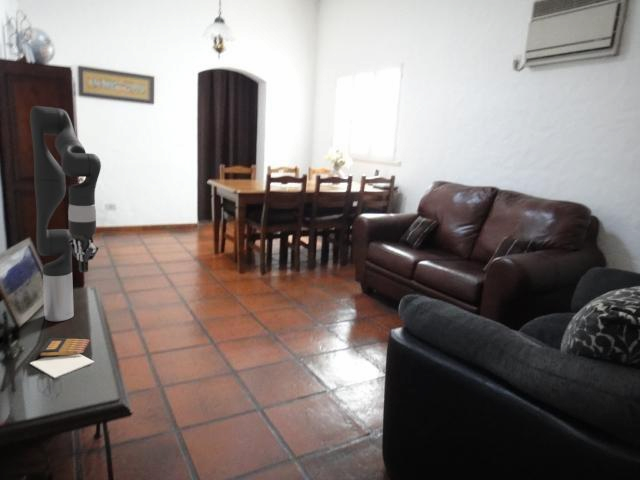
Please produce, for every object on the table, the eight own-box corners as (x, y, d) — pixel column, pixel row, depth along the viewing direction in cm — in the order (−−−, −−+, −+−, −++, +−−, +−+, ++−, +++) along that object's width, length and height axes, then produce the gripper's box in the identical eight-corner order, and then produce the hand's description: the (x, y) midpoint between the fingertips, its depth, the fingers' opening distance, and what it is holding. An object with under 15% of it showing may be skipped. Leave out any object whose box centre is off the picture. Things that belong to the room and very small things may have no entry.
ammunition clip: (39, 357, 135) (83, 355, 138) (39, 351, 134) (83, 350, 138) (50, 343, 145) (90, 342, 148) (49, 338, 144) (90, 337, 148)
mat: (29, 364, 132) (29, 362, 132) (69, 349, 142) (69, 348, 142) (54, 378, 126) (54, 377, 125) (94, 362, 136) (94, 361, 136)
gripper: (106, 221, 137) (107, 274, 141) (81, 213, 143) (82, 264, 147) (83, 223, 130) (84, 279, 134) (58, 215, 137) (60, 269, 141)
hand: (83, 271), depth 141 cm, fingers closed
